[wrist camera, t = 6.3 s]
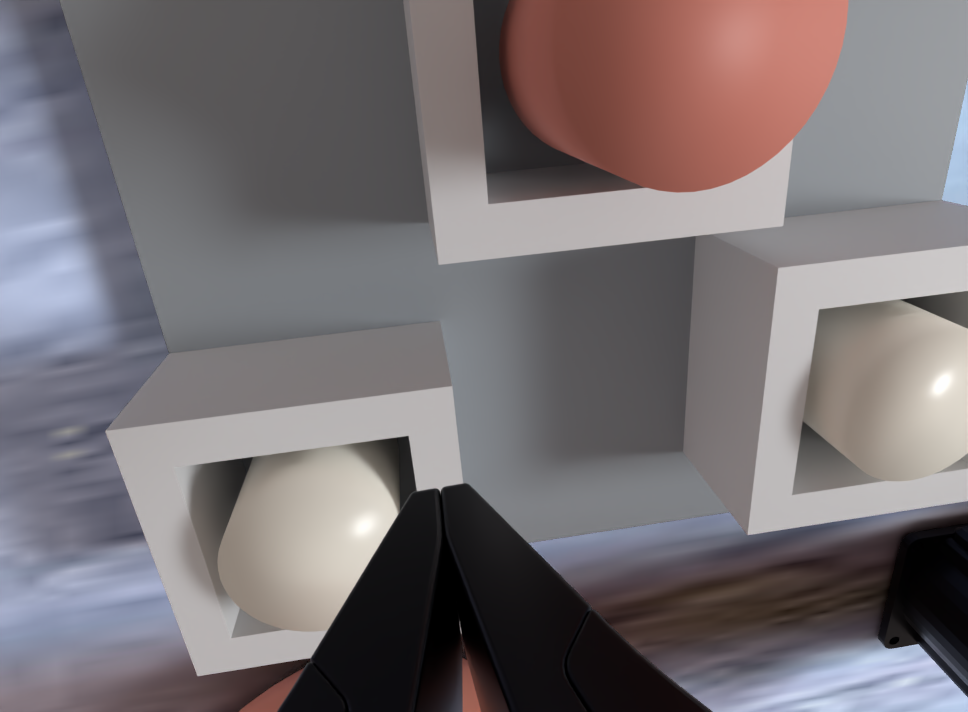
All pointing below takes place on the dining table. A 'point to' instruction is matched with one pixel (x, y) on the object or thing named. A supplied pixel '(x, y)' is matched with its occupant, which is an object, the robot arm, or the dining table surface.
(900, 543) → the robot arm
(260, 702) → the teapot
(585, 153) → the red plug
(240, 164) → the panel
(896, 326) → the plug
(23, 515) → the dining table surface
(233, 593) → the plug
